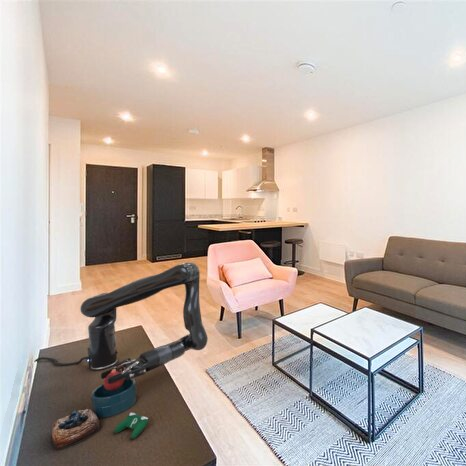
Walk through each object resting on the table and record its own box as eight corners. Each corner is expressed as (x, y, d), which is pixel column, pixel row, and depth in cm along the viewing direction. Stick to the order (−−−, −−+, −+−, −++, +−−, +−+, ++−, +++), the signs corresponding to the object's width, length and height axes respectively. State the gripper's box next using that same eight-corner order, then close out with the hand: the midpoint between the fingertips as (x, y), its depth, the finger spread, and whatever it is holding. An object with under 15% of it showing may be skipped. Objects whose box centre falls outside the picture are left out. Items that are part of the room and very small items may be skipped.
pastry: (94, 415, 102) (93, 399, 101) (102, 431, 94) (101, 414, 94) (49, 433, 93) (48, 416, 93) (54, 453, 86) (52, 435, 85)
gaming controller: (141, 440, 93) (153, 419, 96) (131, 438, 90) (144, 416, 94) (121, 433, 96) (133, 412, 99) (111, 431, 93) (125, 410, 97)
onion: (113, 396, 103) (111, 375, 102) (100, 394, 104) (98, 373, 103) (128, 386, 108) (127, 366, 108) (116, 384, 110) (114, 364, 109)
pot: (83, 416, 101) (81, 397, 100) (114, 394, 113) (112, 377, 112) (116, 418, 100) (115, 399, 99) (144, 395, 112) (143, 378, 112)
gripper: (147, 344, 121) (95, 363, 107) (164, 353, 114) (112, 374, 99) (148, 361, 122) (97, 382, 107) (166, 371, 114) (113, 395, 100)
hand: (104, 378), depth 103 cm, fingers closed on onion, 5 cm apart
